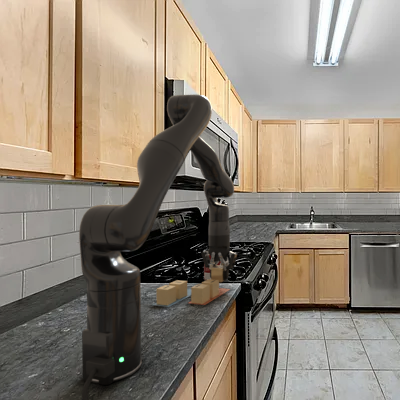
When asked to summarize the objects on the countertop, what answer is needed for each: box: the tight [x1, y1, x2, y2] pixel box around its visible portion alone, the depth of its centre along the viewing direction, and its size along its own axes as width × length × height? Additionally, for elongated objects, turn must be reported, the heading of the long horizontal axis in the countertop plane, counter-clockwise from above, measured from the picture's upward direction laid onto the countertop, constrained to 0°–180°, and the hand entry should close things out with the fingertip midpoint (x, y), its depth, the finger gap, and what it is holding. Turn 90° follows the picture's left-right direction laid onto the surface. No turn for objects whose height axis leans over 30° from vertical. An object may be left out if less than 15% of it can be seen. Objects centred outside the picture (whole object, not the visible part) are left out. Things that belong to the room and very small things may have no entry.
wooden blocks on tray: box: [188, 279, 231, 306], centre depth 107 cm, size 17×6×5 cm, turn 165°
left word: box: [151, 279, 191, 308], centre depth 105 cm, size 18×6×5 cm, turn 165°
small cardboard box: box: [211, 265, 224, 283], centre depth 112 cm, size 4×4×5 cm
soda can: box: [203, 255, 222, 281], centre depth 127 cm, size 7×7×12 cm
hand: (219, 279), depth 113 cm, fingers closed on small cardboard box, 4 cm apart
